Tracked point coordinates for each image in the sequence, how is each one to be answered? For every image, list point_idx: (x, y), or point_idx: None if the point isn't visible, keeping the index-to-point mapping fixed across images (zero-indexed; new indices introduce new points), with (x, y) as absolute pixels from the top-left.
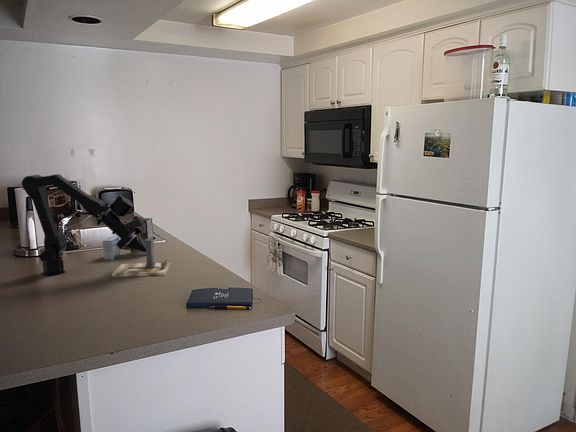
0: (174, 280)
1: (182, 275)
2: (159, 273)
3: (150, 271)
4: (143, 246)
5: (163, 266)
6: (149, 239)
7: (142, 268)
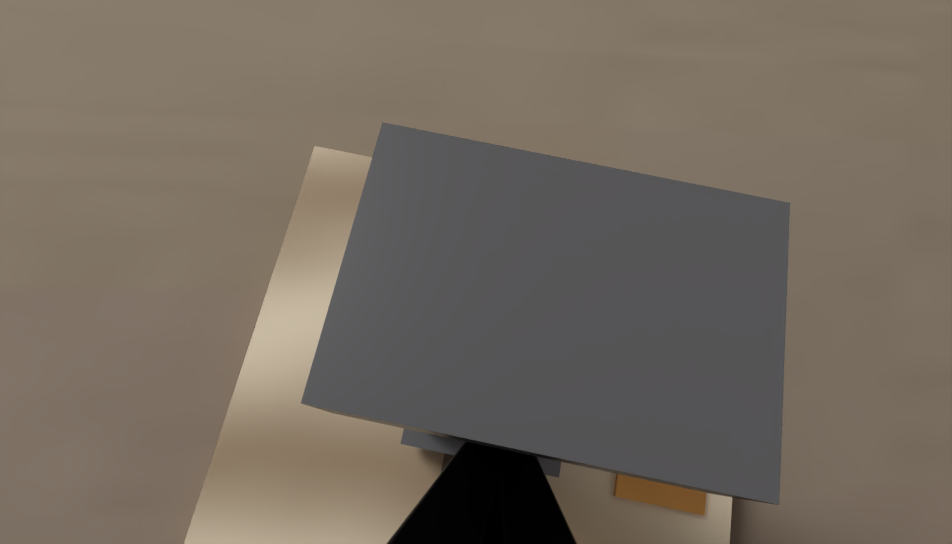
0: (931, 157)
1: (764, 77)
2: None
3: None
4: (560, 538)
5: None
6: (575, 273)
7: None
